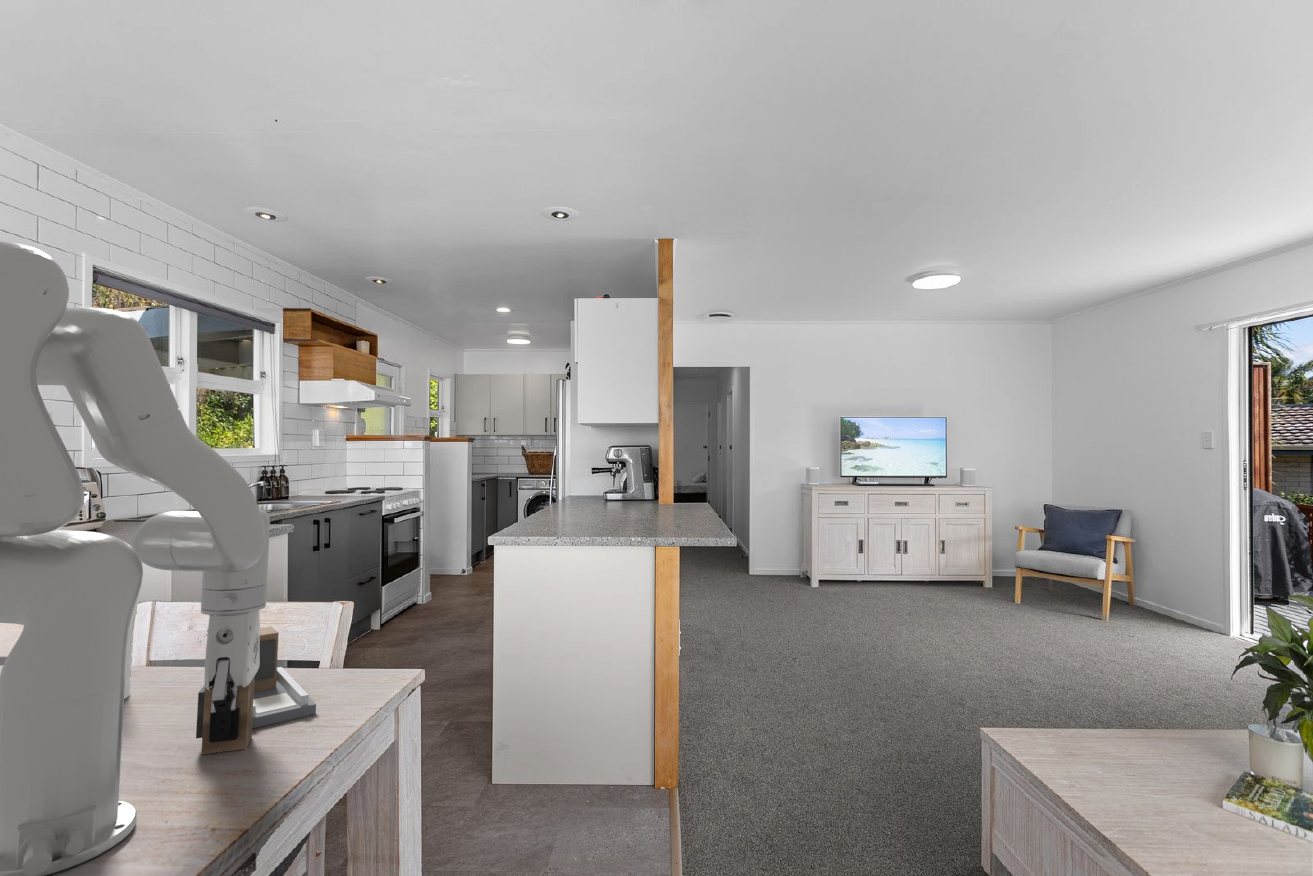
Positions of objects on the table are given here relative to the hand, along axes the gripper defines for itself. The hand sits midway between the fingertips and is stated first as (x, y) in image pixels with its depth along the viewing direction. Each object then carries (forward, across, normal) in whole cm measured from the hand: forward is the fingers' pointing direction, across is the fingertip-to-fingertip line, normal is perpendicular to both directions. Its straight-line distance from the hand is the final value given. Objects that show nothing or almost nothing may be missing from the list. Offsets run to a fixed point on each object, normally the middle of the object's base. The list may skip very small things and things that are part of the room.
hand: (227, 732), depth 87 cm
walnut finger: (+2, 0, 0) cm, 2 cm away
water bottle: (+2, +25, +23) cm, 34 cm away
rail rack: (+2, +15, -2) cm, 15 cm away
